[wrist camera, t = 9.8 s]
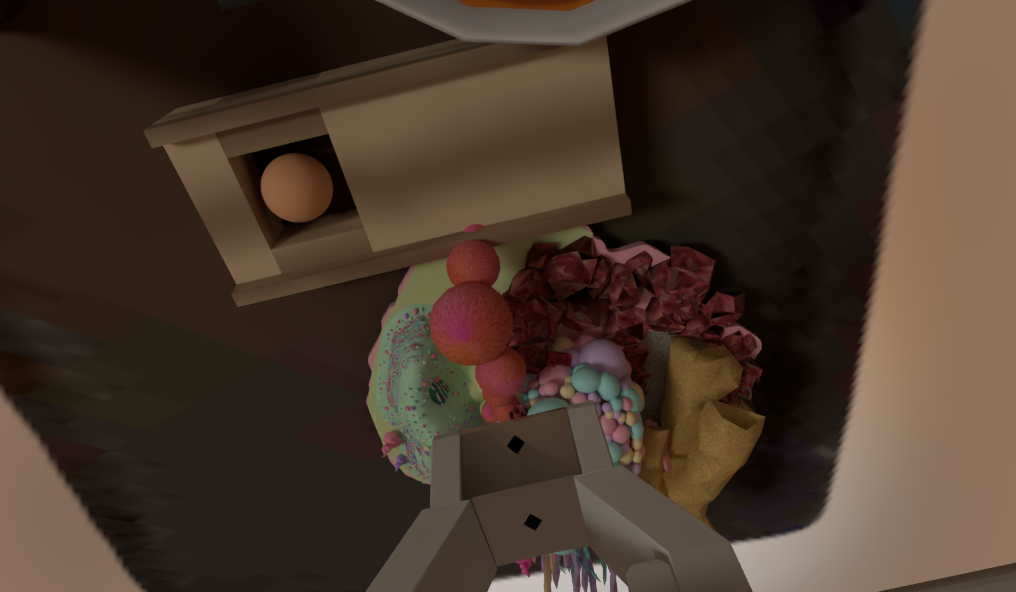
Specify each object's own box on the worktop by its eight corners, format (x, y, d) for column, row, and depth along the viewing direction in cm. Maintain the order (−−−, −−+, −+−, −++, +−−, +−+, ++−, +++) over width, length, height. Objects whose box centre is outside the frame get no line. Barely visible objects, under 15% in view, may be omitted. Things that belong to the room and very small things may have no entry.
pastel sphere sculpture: (799, 255, 38) (905, 312, 29) (687, 554, 46) (745, 668, 37) (392, 183, 34) (375, 225, 25) (346, 525, 41) (321, 646, 33)
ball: (269, 146, 32) (236, 173, 29) (330, 138, 31) (302, 165, 29) (293, 206, 34) (264, 237, 31) (351, 200, 33) (327, 231, 30)
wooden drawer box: (177, 107, 30) (143, 130, 27) (589, 5, 30) (608, 15, 26) (257, 270, 35) (237, 306, 32) (613, 186, 35) (631, 214, 31)
